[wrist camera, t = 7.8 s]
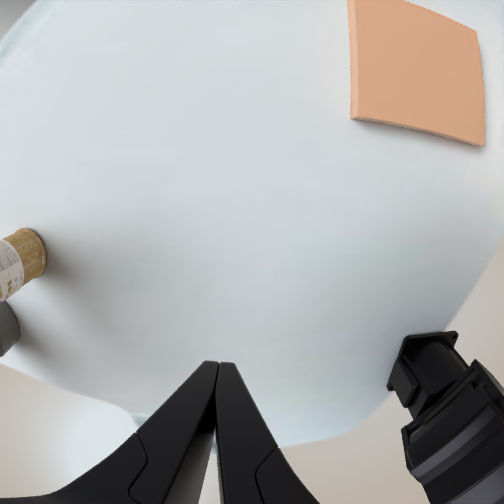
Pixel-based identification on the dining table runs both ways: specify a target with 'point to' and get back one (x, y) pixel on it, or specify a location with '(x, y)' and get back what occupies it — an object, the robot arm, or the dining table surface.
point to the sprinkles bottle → (20, 261)
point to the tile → (415, 70)
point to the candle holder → (8, 328)
